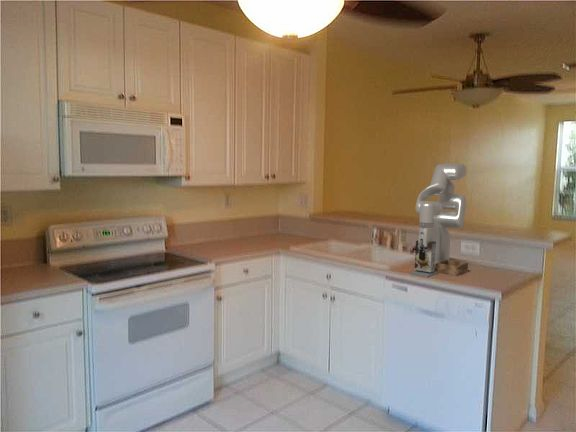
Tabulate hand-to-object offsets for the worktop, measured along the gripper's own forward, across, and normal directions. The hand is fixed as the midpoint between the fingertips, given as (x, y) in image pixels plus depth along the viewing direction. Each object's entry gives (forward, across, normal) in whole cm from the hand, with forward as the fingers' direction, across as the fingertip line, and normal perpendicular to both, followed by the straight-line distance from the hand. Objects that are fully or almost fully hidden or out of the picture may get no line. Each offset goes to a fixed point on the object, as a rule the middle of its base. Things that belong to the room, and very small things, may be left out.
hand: (425, 258), depth 240 cm
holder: (+9, +15, -9) cm, 19 cm away
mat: (+8, 0, 0) cm, 8 cm away
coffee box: (+7, 0, 0) cm, 7 cm away
